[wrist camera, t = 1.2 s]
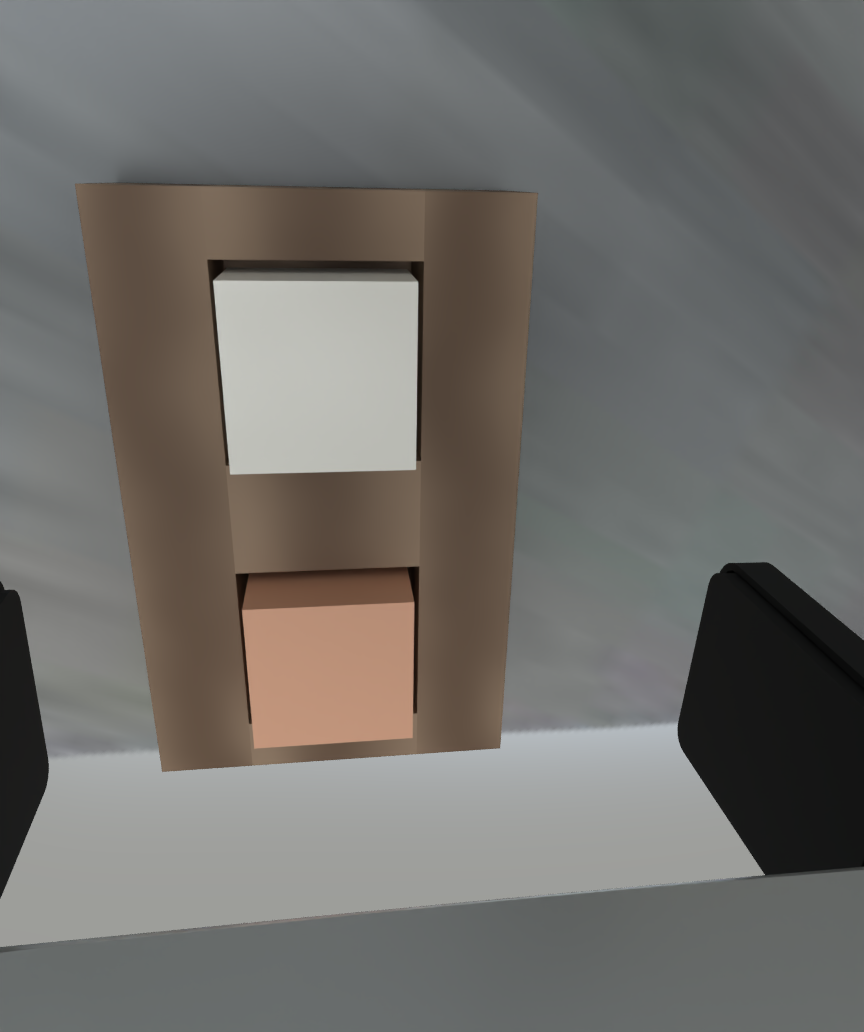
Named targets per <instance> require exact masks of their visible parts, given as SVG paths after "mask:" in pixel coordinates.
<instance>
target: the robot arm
mask: <svg viewBox="0 0 864 1032" xmlns="http://www.w3.org/2000/svg"><path fill="white" fill-rule="evenodd" d="M678 739H679V743H680V746H681V748H682V750H683V752H684V753H685V755H686V757H687V758H688V759H689V761H690V763H691V764H692V766H693V767H694V769H695V770H696V772H697V773H698V775H699V776H700V778H701V779H702V781H703V782H704V784H705V785H706V787H707V788H708V790H709V791H710V793H711V794H712V796H713V797H714V799H715V800H716V802H717V803H718V805H719V806H720V808H721V809H722V811H723V812H724V814H725V815H726V817H727V818H728V820H729V821H730V822H731V824H732V826H733V827H734V829H735V830H736V832H737V833H738V835H739V836H740V838H741V839H742V841H743V842H744V844H745V845H746V847H747V848H748V850H749V851H750V853H751V854H752V856H753V857H754V859H755V860H756V862H757V863H758V865H759V867H760V868H761V869H762V871H763V872H764V874H765V875H763V876H751V877H740V878H728V879H717V880H706V881H694V882H683V883H673V884H661V885H649V886H638V887H626V888H616V889H605V890H593V891H582V892H571V893H560V894H550V895H538V896H528V897H517V898H506V899H495V900H485V901H473V902H463V903H452V904H441V905H431V906H420V907H409V908H400V909H388V910H377V911H366V912H356V913H345V914H336V915H325V916H315V917H305V918H295V919H285V920H274V921H263V922H254V923H243V924H233V925H222V926H213V927H202V928H193V929H181V930H171V931H161V932H151V933H140V934H130V935H120V936H110V937H100V938H89V939H79V940H70V941H59V942H48V943H39V944H29V945H18V946H8V947H0V1032H864V640H862V639H861V638H860V637H859V636H858V635H856V634H855V633H854V632H853V631H852V630H850V629H849V628H848V627H847V626H845V625H844V624H843V623H842V622H841V621H839V620H838V619H837V618H836V617H835V616H833V615H832V614H831V613H830V612H829V611H827V610H826V609H825V608H824V607H823V606H821V605H820V604H819V603H818V602H816V601H815V600H814V599H813V598H812V597H810V596H809V595H808V594H807V593H806V592H804V591H803V590H802V589H801V588H800V587H798V586H797V585H796V584H795V583H793V582H792V581H791V580H790V579H789V578H787V577H786V576H785V575H784V574H783V573H781V572H780V571H779V570H778V569H777V568H775V567H774V566H773V565H771V564H769V563H767V562H762V563H728V564H726V565H725V566H724V567H723V568H722V570H721V571H720V573H716V574H714V575H713V576H712V578H711V579H710V582H709V585H708V590H707V594H706V599H705V603H704V608H703V612H702V617H701V622H700V626H699V631H698V635H697V640H696V644H695V649H694V653H693V658H692V662H691V667H690V671H689V676H688V681H687V685H686V690H685V694H684V699H683V703H682V708H681V712H680V717H679V721H678ZM48 773H49V763H48V755H47V750H46V744H45V738H44V732H43V727H42V721H41V715H40V709H39V704H38V698H37V692H36V686H35V681H34V675H33V669H32V663H31V658H30V652H29V646H28V640H27V635H26V629H25V623H24V617H23V612H22V606H21V601H20V597H19V595H18V593H17V592H16V591H15V590H4V587H3V585H2V583H1V582H0V898H1V896H2V893H3V891H4V889H5V886H6V884H7V881H8V879H9V877H10V874H11V872H12V869H13V867H14V864H15V862H16V859H17V857H18V855H19V852H20V850H21V847H22V845H23V843H24V840H25V838H26V835H27V833H28V831H29V828H30V826H31V823H32V821H33V819H34V816H35V814H36V811H37V809H38V806H39V804H40V802H41V799H42V797H43V794H44V792H45V789H46V786H47V781H48Z"/></svg>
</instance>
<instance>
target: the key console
mask: <svg viewBox="0 0 864 1032" xmlns="http://www.w3.org/2000/svg"><path fill="white" fill-rule="evenodd" d="M75 187H76V194H77V201H78V208H79V214H80V221H81V228H82V235H83V241H84V248H85V255H86V261H87V268H88V275H89V282H90V288H91V295H92V302H93V309H94V315H95V322H96V329H97V336H98V342H99V349H100V356H101V362H102V369H103V376H104V383H105V389H106V396H107V403H108V410H109V416H110V423H111V430H112V437H113V443H114V450H115V457H116V463H117V470H118V477H119V484H120V490H121V497H122V504H123V511H124V517H125V524H126V531H127V538H128V544H129V551H130V558H131V564H132V571H133V578H134V585H135V591H136V598H137V605H138V612H139V618H140V625H141V632H142V639H143V645H144V652H145V659H146V665H147V672H148V679H149V686H150V692H151V699H152V706H153V713H154V719H155V726H156V733H157V740H158V746H159V753H160V760H161V766H162V772H166V771H181V770H193V769H194V770H195V769H209V768H224V767H238V766H252V765H267V764H281V763H293V762H309V761H324V760H337V759H352V758H366V757H381V756H395V755H409V754H424V753H438V752H453V751H466V750H481V749H494V748H495V749H496V748H500V742H501V727H502V712H503V698H504V683H505V668H506V653H507V639H508V624H509V609H510V595H511V580H512V565H513V551H514V536H515V521H516V506H517V492H518V477H519V462H520V448H521V433H522V418H523V403H524V389H525V374H526V359H527V345H528V330H529V315H530V301H531V286H532V271H533V256H534V242H535V227H536V212H537V198H538V193H531V192H517V191H498V190H449V189H399V188H350V187H300V186H251V185H201V184H152V183H86V184H75ZM226 268H345V269H407V270H408V271H409V272H410V273H411V274H412V275H413V276H414V277H415V279H416V280H417V281H418V350H417V430H416V470H394V471H353V472H313V473H272V474H231V475H230V467H229V455H228V444H227V433H226V421H225V410H224V399H223V387H222V376H221V364H220V353H219V342H218V330H217V319H216V308H215V296H214V285H213V280H214V279H215V278H216V277H218V276H219V275H220V274H221V273H222V272H223V271H224V270H225V269H226ZM388 567H407V570H408V575H409V579H410V584H411V589H412V594H413V598H414V670H413V738H405V739H390V740H375V741H360V742H345V743H331V744H316V745H301V746H286V747H271V748H256V749H254V740H253V728H252V717H251V706H250V694H249V683H248V672H247V660H246V649H245V637H244V626H243V615H242V608H243V603H244V597H245V592H246V587H247V582H248V576H249V573H263V572H288V571H313V570H338V569H363V568H388Z"/></svg>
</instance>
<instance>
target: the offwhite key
mask: <svg viewBox="0 0 864 1032" xmlns="http://www.w3.org/2000/svg"><path fill="white" fill-rule="evenodd" d="M213 285H214V296H215V308H216V319H217V330H218V342H219V353H220V364H221V376H222V387H223V399H224V410H225V421H226V433H227V444H228V455H229V467H230V475H231V474H272V473H313V472H353V471H394V470H416V430H417V350H418V281H417V280H416V279H415V277H414V276H413V275H412V274H411V273H410V272H409V271H408V270H407V269H345V268H226V269H225V270H224V271H223V272H222V273H221V274H220V275H219V276H218V277H216V278H215V279H214V280H213Z"/></svg>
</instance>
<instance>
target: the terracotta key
mask: <svg viewBox="0 0 864 1032" xmlns="http://www.w3.org/2000/svg"><path fill="white" fill-rule="evenodd" d="M242 615H243V626H244V637H245V649H246V660H247V672H248V683H249V694H250V706H251V717H252V728H253V740H254V749H256V748H271V747H286V746H301V745H316V744H331V743H345V742H360V741H375V740H390V739H405V738H413V670H414V598H413V594H412V589H411V584H410V579H409V575H408V570H407V567H388V568H363V569H338V570H313V571H288V572H263V573H249V576H248V582H247V587H246V592H245V597H244V603H243V608H242Z"/></svg>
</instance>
